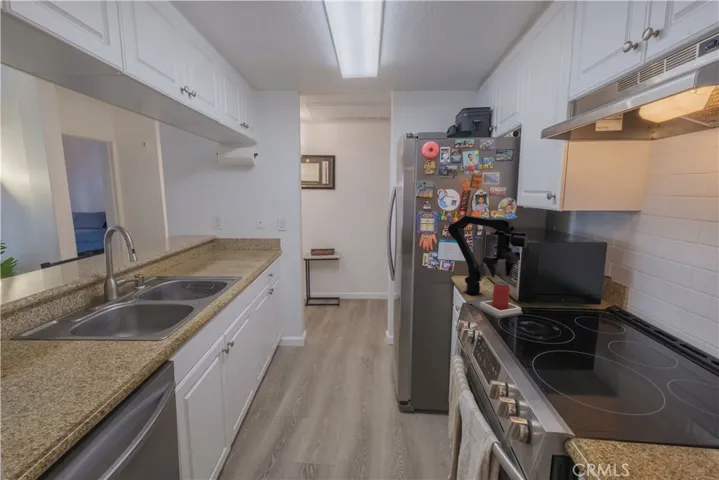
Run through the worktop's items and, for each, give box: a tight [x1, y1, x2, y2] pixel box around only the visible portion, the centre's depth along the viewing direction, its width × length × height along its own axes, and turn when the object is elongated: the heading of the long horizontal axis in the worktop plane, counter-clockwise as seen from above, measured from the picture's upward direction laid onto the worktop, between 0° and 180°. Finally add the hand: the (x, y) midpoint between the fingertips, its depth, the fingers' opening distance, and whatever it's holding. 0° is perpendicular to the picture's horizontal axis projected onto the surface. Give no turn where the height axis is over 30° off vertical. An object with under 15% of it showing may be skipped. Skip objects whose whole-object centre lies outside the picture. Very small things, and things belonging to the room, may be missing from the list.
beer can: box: [492, 281, 511, 310], centre depth 142 cm, size 7×7×12 cm
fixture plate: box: [465, 296, 524, 320], centre depth 146 cm, size 20×14×3 cm
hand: (500, 276), depth 156 cm, fingers open, 9 cm apart
